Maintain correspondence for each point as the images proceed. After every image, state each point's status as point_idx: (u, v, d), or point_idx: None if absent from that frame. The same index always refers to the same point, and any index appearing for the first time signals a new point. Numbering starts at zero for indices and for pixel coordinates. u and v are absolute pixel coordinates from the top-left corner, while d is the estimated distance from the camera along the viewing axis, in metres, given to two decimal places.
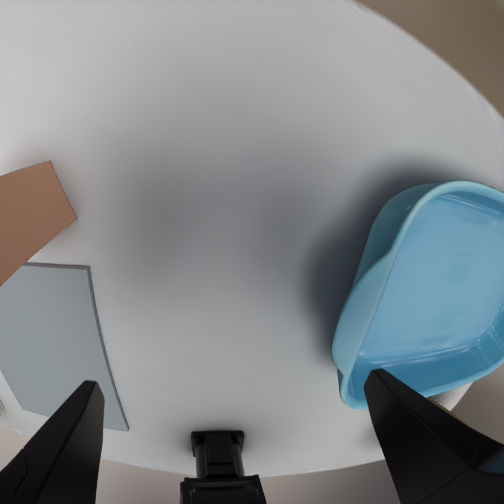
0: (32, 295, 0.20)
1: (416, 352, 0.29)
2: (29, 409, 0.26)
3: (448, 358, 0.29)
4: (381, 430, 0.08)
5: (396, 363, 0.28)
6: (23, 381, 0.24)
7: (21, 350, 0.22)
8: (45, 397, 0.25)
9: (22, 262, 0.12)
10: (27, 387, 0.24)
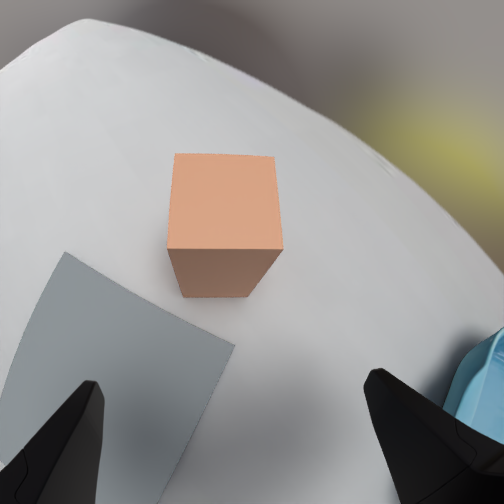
0: (143, 341, 0.20)
1: None
2: None
3: None
4: (381, 430, 0.08)
5: None
6: (26, 423, 0.16)
7: (63, 390, 0.18)
8: None
9: None
10: (25, 433, 0.15)
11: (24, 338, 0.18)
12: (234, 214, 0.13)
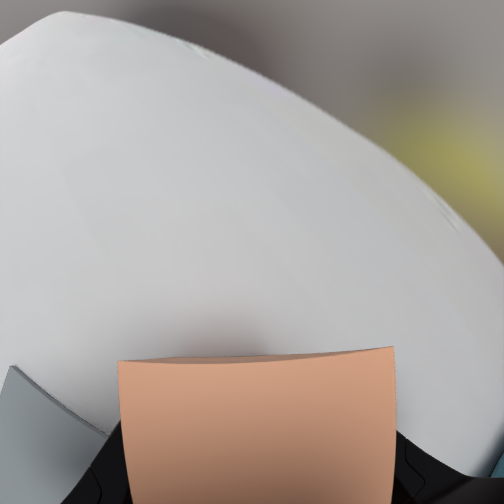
0: None
1: None
2: None
3: None
4: None
5: None
6: None
7: None
8: None
9: None
10: None
11: None
12: None
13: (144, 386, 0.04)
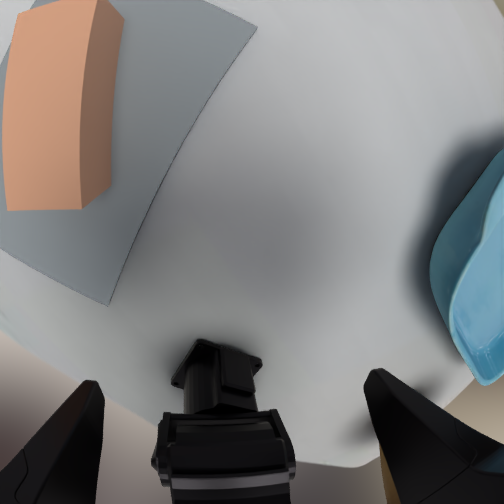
0: (145, 21, 0.13)
1: (455, 317, 0.27)
2: None
3: (466, 346, 0.28)
4: (381, 430, 0.08)
5: None
6: None
7: None
8: None
9: (89, 42, 0.09)
10: None
11: (3, 62, 0.11)
12: None
13: None
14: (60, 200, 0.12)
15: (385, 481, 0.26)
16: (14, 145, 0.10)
